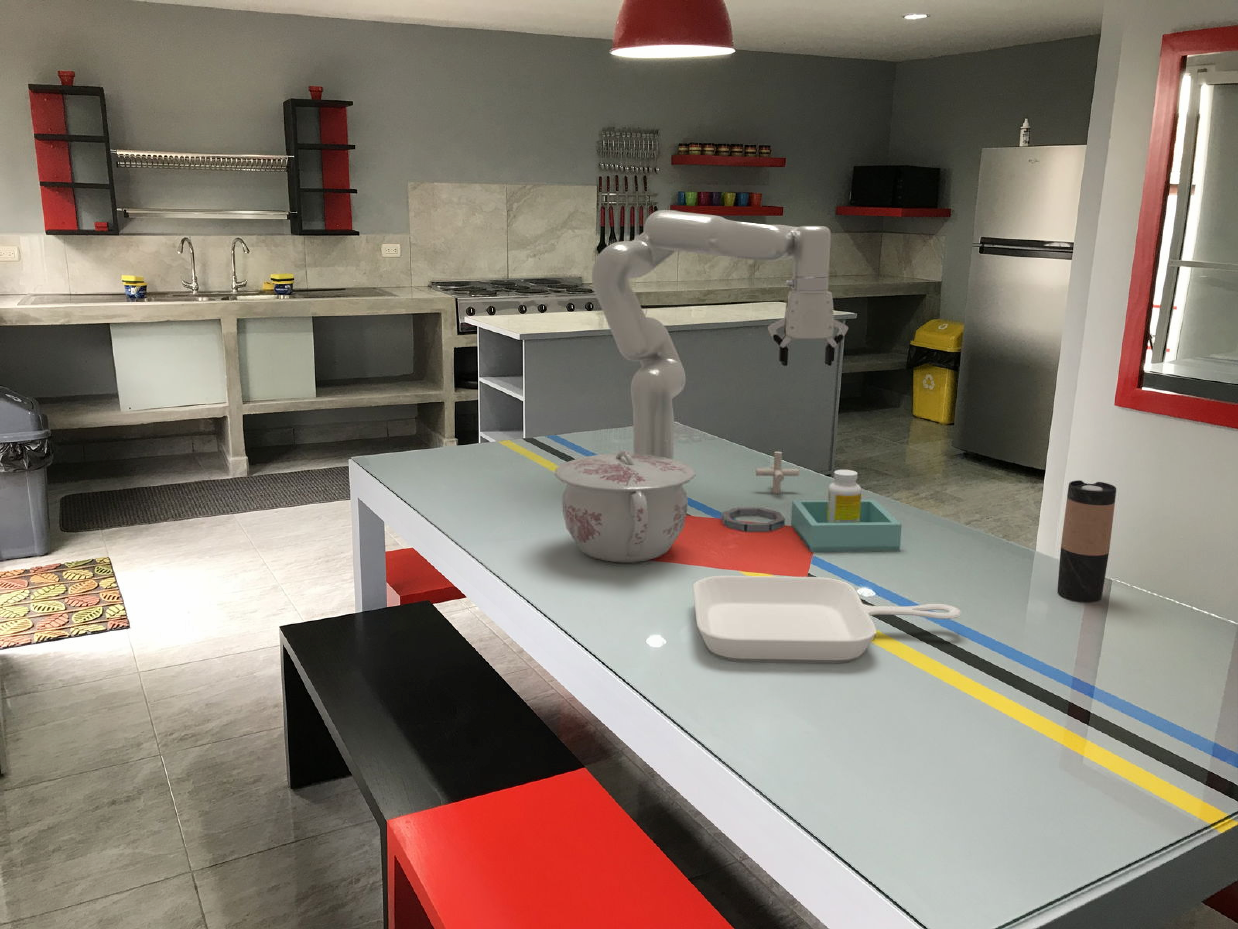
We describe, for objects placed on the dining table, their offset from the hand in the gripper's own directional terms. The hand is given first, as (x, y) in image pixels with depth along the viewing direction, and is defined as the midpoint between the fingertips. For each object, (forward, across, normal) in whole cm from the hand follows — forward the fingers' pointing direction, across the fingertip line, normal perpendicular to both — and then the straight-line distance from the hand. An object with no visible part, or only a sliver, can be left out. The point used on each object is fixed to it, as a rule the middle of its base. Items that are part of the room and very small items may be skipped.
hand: (806, 364), depth 218 cm
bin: (+33, +5, -19) cm, 39 cm away
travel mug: (+34, +38, -53) cm, 73 cm away
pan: (+34, -11, -67) cm, 76 cm away
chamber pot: (+34, -41, -27) cm, 59 cm away
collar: (+33, -12, -8) cm, 36 cm away
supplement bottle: (+32, +5, -19) cm, 38 cm away
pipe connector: (+34, -2, +16) cm, 37 cm away
